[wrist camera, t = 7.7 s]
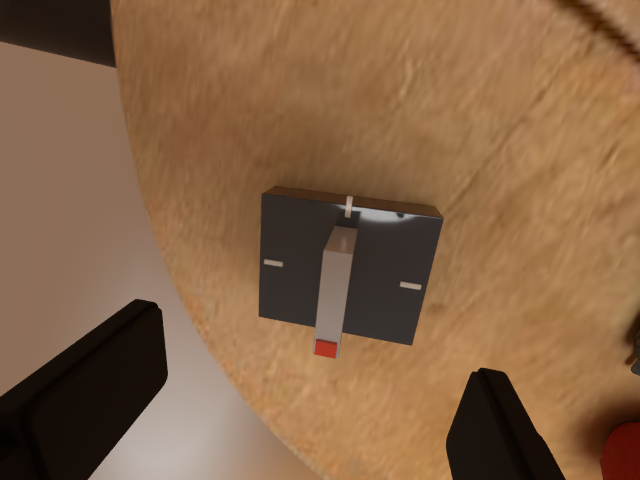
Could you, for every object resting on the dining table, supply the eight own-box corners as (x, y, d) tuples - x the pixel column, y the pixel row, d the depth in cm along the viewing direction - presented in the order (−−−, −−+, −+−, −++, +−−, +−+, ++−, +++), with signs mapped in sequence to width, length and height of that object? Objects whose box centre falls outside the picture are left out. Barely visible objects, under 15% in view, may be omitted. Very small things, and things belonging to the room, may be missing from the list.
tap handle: (334, 225, 21) (322, 251, 16) (358, 228, 20) (352, 256, 16) (324, 313, 23) (311, 356, 19) (345, 317, 23) (337, 361, 18)
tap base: (270, 303, 27) (257, 324, 24) (275, 177, 23) (260, 184, 20) (407, 328, 26) (410, 354, 23) (437, 198, 22) (447, 209, 19)
